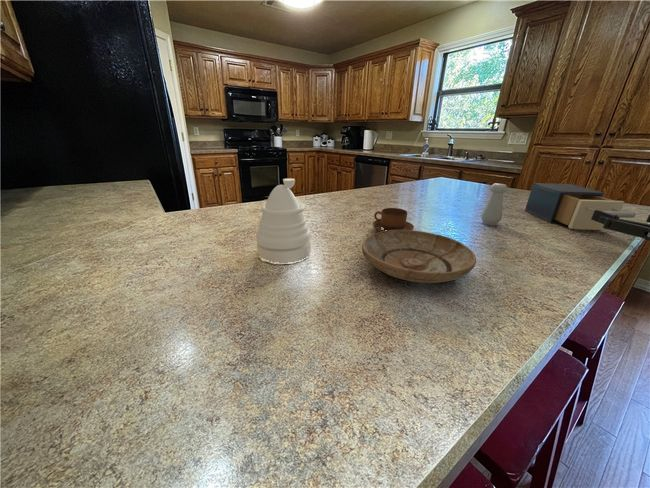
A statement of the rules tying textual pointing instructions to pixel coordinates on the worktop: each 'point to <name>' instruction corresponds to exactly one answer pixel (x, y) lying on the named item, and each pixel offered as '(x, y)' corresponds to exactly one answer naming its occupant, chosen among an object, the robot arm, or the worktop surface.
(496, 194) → the salt shaker
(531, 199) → the cabinet
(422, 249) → the ceramic bowl
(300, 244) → the honey pot
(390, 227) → the cup and saucer
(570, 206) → the drawer
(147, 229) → the worktop surface
